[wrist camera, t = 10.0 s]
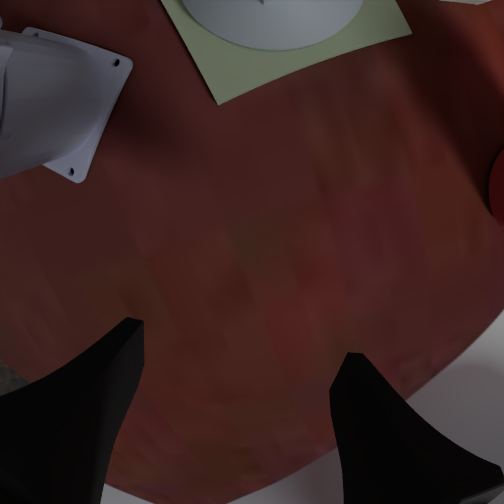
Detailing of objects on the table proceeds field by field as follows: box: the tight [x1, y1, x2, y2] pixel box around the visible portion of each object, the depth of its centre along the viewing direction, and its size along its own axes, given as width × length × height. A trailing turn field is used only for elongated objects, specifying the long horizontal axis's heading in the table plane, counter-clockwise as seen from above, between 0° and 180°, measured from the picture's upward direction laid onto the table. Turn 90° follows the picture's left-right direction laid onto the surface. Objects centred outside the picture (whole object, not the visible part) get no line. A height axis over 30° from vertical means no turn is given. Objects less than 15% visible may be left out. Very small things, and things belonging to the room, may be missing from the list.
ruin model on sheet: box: [0, 359, 30, 396], centre depth 22 cm, size 11×3×10 cm, turn 50°
